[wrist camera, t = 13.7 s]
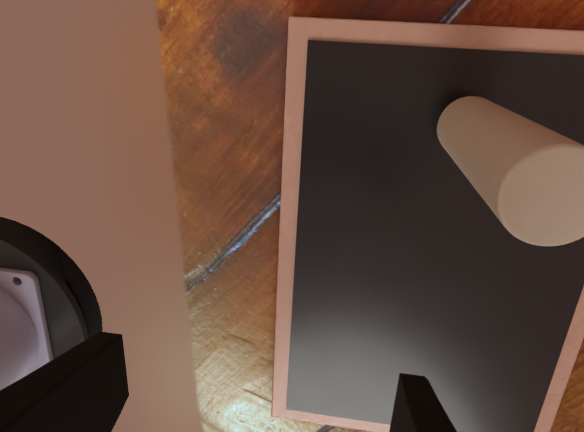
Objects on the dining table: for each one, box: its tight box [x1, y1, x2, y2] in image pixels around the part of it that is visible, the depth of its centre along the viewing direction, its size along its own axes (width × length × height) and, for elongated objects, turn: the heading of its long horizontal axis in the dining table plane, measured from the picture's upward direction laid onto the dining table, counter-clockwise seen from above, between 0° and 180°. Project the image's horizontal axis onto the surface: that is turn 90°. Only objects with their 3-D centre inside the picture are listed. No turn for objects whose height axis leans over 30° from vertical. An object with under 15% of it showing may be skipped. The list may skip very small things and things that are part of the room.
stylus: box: [437, 96, 584, 246], centre depth 13 cm, size 2×2×9 cm
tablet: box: [271, 16, 584, 432], centre depth 20 cm, size 14×20×1 cm
